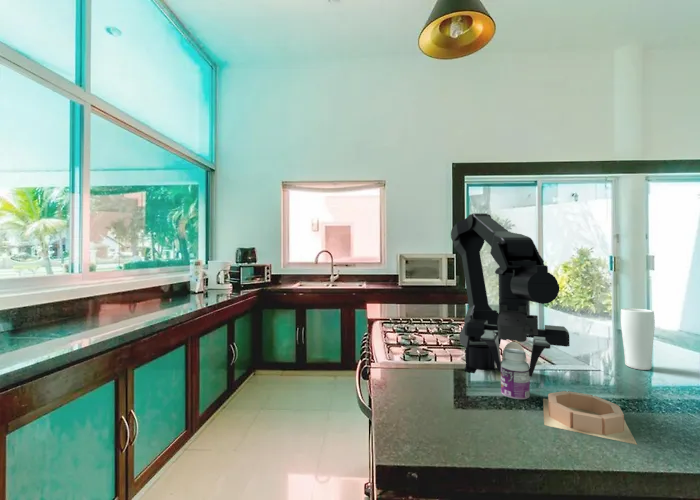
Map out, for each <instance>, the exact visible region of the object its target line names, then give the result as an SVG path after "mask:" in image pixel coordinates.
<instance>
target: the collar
mask: <svg viewBox="0 0 700 500" xmlns="http://www.w3.org/2000/svg"><path fill="white" fill-rule="evenodd" d="M547 395H548V397H547V399H548V408H549V416H550V417H551V418H553V419H555V420H557V421H558V422H560V423H562V424H564V425H566V426H568V427H569V428H572V427H573V429H576V430H581V431H586V432H590V433H595V434H600V435H602V434H604V435H609V434H614V433H619V432H623V431H624V420H625V414H624V412H623V411H622V409H621V407H620V405H618V404H616V403H613V402H611V401H610V400H607V399H604V398H601V397H599V396H597V395H593V394H589V393H582V392H575V391H570V390H567V391H566V390H562V391H556V392H549V393H548V394H547ZM568 407H572V408H578V409H583V410H589V411H593V412H595V413H597V414H599V415H594V414H589V413H583V412H578V411H574V410H571V409H569V408H568Z"/></svg>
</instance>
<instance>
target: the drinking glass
mask: <svg viewBox="0 0 700 500" xmlns="http://www.w3.org/2000/svg"><path fill="white" fill-rule="evenodd" d="M655 324H656V323H655V311H654V310H650V309H644V308H632V307H631V308H630V307H623V308H621V309H620V327H621V328H620V329H621V336H622V344H623V353H624V364H625V365H626V366H627V367H629V368H631V369H635V370H639V371H641V370H642V371H649V370H652V368H653V363H652V361H653V360H652V359H653V350H654V349H653V348H654V340H655V339H654V337H655V328H656V327H655V326H656V325H655Z"/></svg>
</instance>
